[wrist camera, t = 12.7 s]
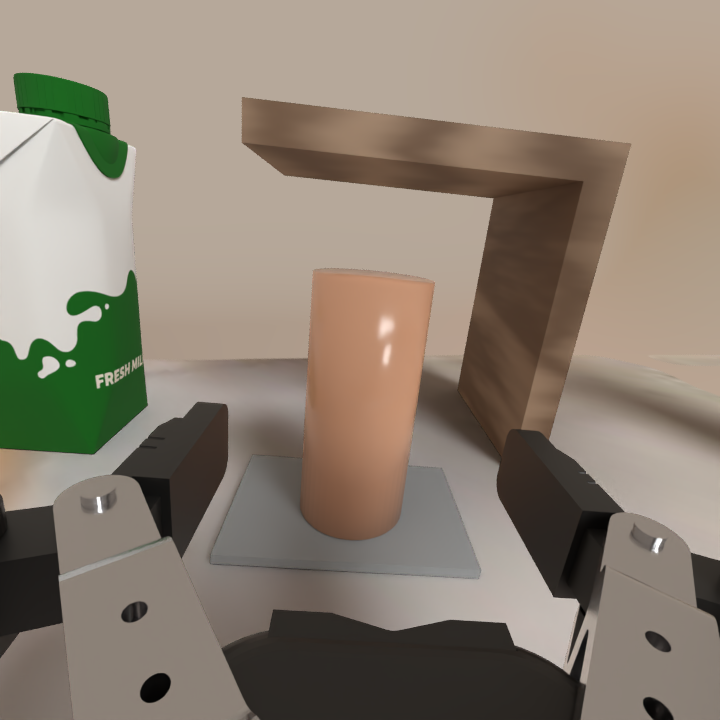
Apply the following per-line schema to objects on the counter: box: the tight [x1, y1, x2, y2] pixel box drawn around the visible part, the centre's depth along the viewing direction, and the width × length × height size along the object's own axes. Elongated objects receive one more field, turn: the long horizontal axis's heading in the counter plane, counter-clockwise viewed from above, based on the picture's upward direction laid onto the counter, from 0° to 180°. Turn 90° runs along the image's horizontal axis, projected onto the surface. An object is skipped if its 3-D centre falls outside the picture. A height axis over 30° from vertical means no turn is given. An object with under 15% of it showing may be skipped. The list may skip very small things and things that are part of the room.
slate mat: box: [210, 455, 481, 579], centre depth 22 cm, size 12×8×1 cm, turn 91°
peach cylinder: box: [300, 268, 435, 540], centre depth 20 cm, size 5×5×12 cm
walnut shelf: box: [242, 97, 631, 457], centre depth 30 cm, size 20×14×20 cm
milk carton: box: [0, 73, 148, 454], centre depth 24 cm, size 9×9×20 cm
